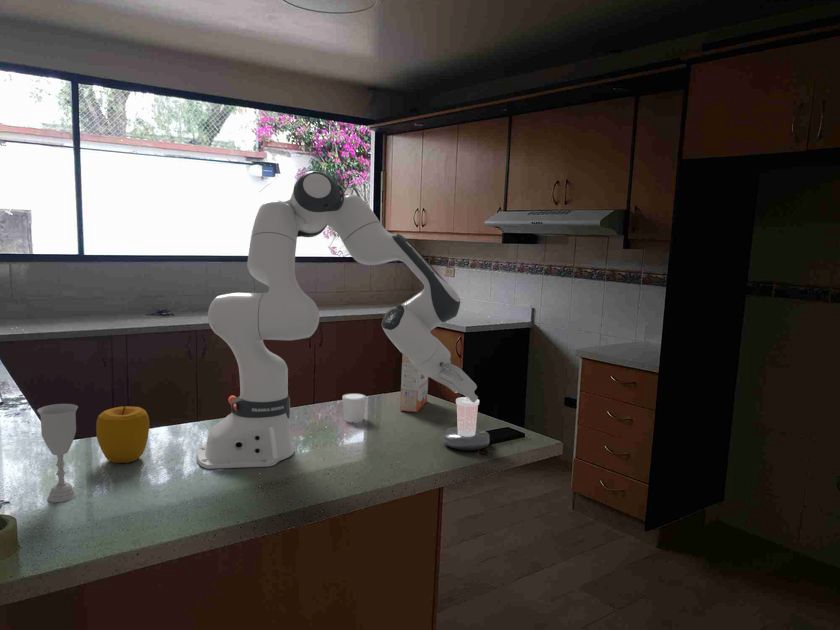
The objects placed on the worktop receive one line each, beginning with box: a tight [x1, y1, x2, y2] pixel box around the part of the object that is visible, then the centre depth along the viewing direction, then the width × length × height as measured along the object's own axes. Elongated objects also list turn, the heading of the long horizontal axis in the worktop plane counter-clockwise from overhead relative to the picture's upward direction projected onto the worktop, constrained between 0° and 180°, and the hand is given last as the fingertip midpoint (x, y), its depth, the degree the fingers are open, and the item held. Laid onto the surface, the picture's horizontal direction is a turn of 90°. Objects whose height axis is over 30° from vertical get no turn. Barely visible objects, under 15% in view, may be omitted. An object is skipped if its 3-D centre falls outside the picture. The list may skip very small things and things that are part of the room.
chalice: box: [37, 403, 79, 503], centre depth 120 cm, size 7×7×18 cm
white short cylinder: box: [341, 392, 367, 423], centre depth 177 cm, size 7×7×7 cm
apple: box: [95, 406, 151, 464], centre depth 140 cm, size 11×11×13 cm
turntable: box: [442, 426, 490, 452], centre depth 158 cm, size 12×12×3 cm
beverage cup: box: [455, 396, 480, 437], centre depth 157 cm, size 6×6×14 cm
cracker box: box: [399, 353, 429, 413], centre depth 191 cm, size 14×6×21 cm, turn 167°
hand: (465, 395), depth 156 cm, fingers open, 8 cm apart
